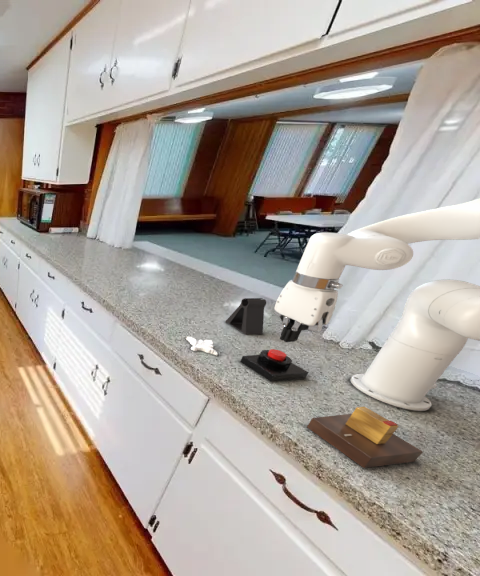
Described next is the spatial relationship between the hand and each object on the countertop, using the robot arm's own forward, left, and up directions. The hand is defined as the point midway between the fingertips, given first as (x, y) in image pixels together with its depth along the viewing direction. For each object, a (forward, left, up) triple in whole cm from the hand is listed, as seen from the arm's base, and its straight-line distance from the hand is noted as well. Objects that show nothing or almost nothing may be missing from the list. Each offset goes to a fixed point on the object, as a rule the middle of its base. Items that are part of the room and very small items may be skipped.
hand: (287, 340), depth 83 cm
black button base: (+1, +1, -10) cm, 10 cm away
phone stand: (-13, -21, -10) cm, 27 cm away
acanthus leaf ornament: (+12, -12, -10) cm, 20 cm away
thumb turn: (+8, +25, -7) cm, 27 cm away
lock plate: (+8, +25, -10) cm, 28 cm away
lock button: (0, 0, -6) cm, 6 cm away
